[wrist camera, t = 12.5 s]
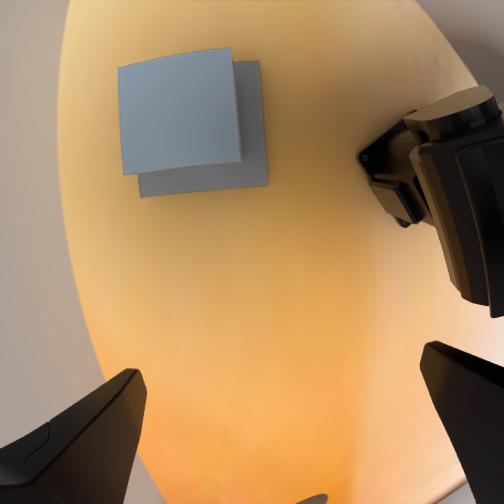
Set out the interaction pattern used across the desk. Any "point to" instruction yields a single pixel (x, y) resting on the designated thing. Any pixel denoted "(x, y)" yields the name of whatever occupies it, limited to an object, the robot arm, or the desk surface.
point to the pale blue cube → (179, 112)
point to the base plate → (223, 174)
